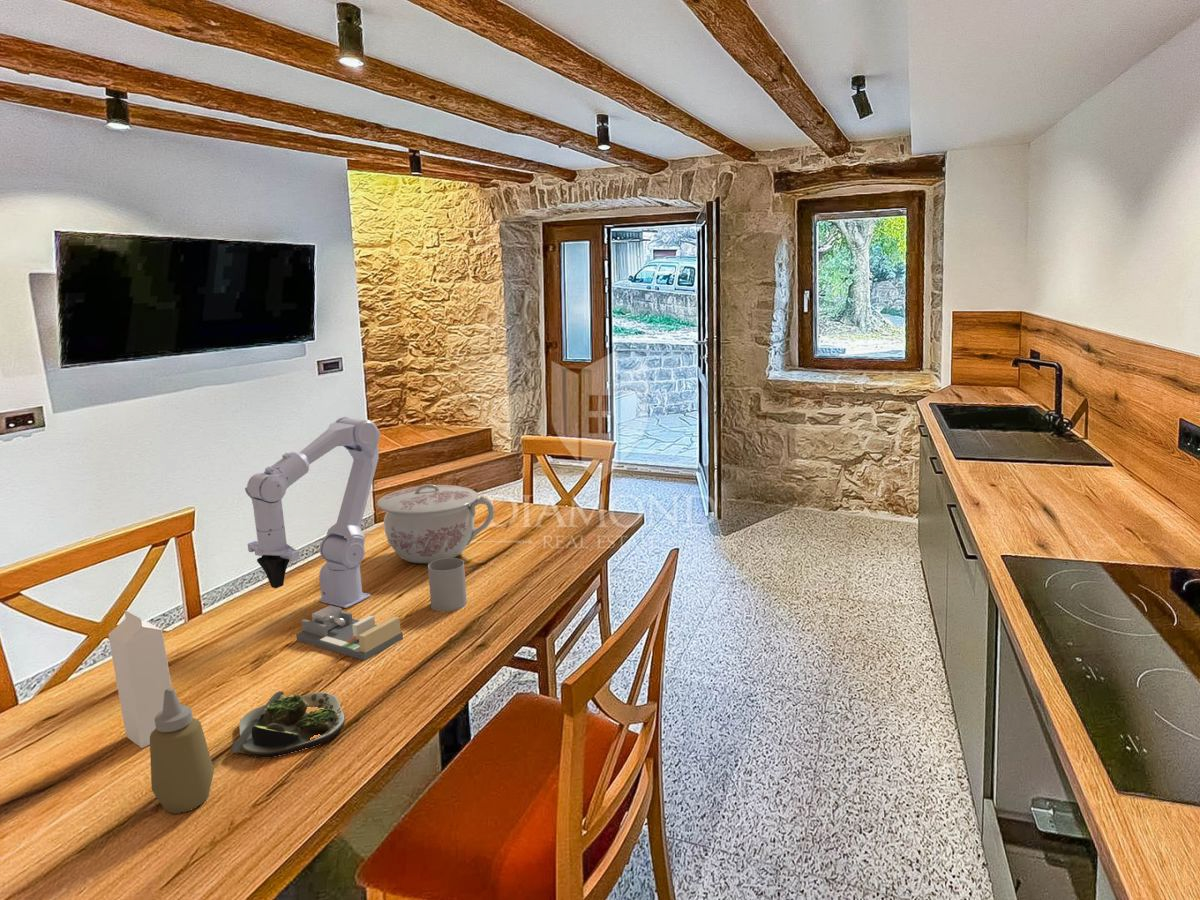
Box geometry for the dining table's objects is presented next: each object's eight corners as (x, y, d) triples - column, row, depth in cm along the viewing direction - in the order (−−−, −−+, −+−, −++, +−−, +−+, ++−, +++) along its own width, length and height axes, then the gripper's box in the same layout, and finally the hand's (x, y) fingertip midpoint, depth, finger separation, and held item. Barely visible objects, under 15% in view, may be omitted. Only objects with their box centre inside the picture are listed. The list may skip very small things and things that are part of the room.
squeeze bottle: (199, 777, 118) (183, 670, 114) (228, 796, 113) (212, 685, 109) (144, 807, 111) (125, 695, 107) (173, 827, 107) (153, 711, 103)
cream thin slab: (346, 642, 157) (344, 628, 156) (371, 628, 163) (370, 615, 162) (350, 643, 156) (348, 629, 156) (375, 629, 162) (374, 616, 162)
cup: (458, 612, 175) (455, 571, 173) (425, 610, 177) (422, 569, 175) (471, 598, 183) (469, 558, 181) (439, 596, 185) (436, 557, 183)
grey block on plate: (313, 628, 164) (311, 613, 164) (331, 619, 169) (330, 605, 168) (334, 634, 161) (333, 619, 161) (352, 625, 166) (351, 610, 165)
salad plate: (231, 712, 137) (227, 688, 136) (335, 687, 144) (332, 665, 143) (232, 772, 120) (228, 745, 119) (350, 740, 127) (347, 715, 126)
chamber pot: (360, 561, 210) (353, 488, 206) (434, 533, 232) (429, 467, 228) (431, 581, 194) (425, 503, 190) (503, 550, 216) (499, 479, 212)
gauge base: (296, 640, 163) (294, 618, 162) (336, 620, 173) (334, 599, 172) (364, 660, 154) (362, 637, 153) (402, 638, 163) (401, 616, 162)
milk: (162, 721, 134) (144, 603, 129) (179, 732, 130) (160, 611, 126) (125, 737, 129) (104, 615, 124) (141, 749, 125) (120, 624, 121)
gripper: (232, 528, 166) (240, 587, 169) (277, 537, 159) (284, 598, 162) (260, 519, 172) (267, 576, 175) (304, 528, 165) (311, 587, 168)
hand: (277, 586), depth 169 cm, fingers closed
